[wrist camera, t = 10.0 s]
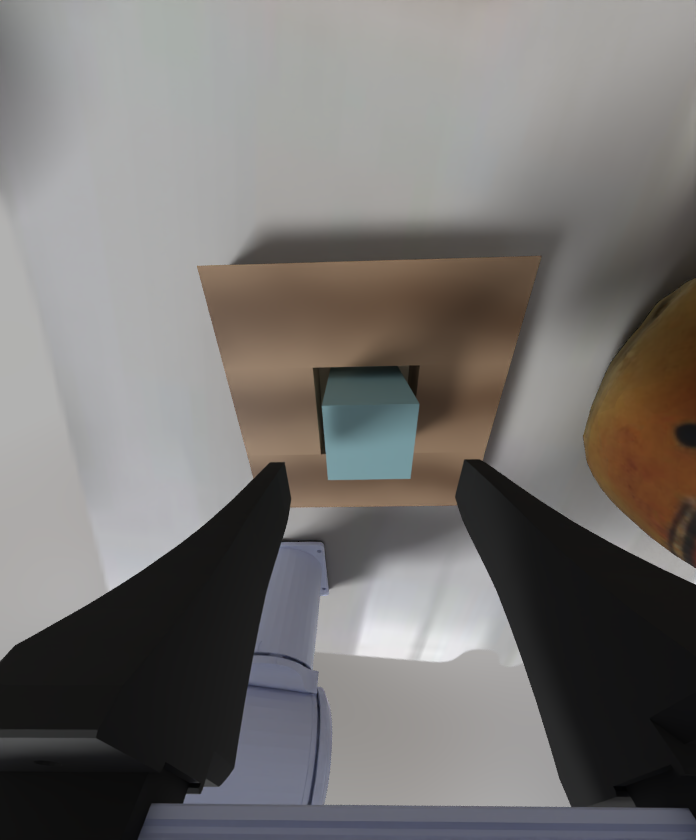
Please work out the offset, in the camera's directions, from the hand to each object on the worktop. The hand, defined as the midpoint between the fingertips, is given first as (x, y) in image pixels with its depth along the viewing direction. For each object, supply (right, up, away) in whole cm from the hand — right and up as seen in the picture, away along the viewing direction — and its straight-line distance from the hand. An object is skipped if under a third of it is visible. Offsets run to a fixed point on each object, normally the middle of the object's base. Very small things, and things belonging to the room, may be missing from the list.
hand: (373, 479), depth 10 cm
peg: (0, +4, +7) cm, 8 cm away
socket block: (0, +4, +8) cm, 9 cm away
